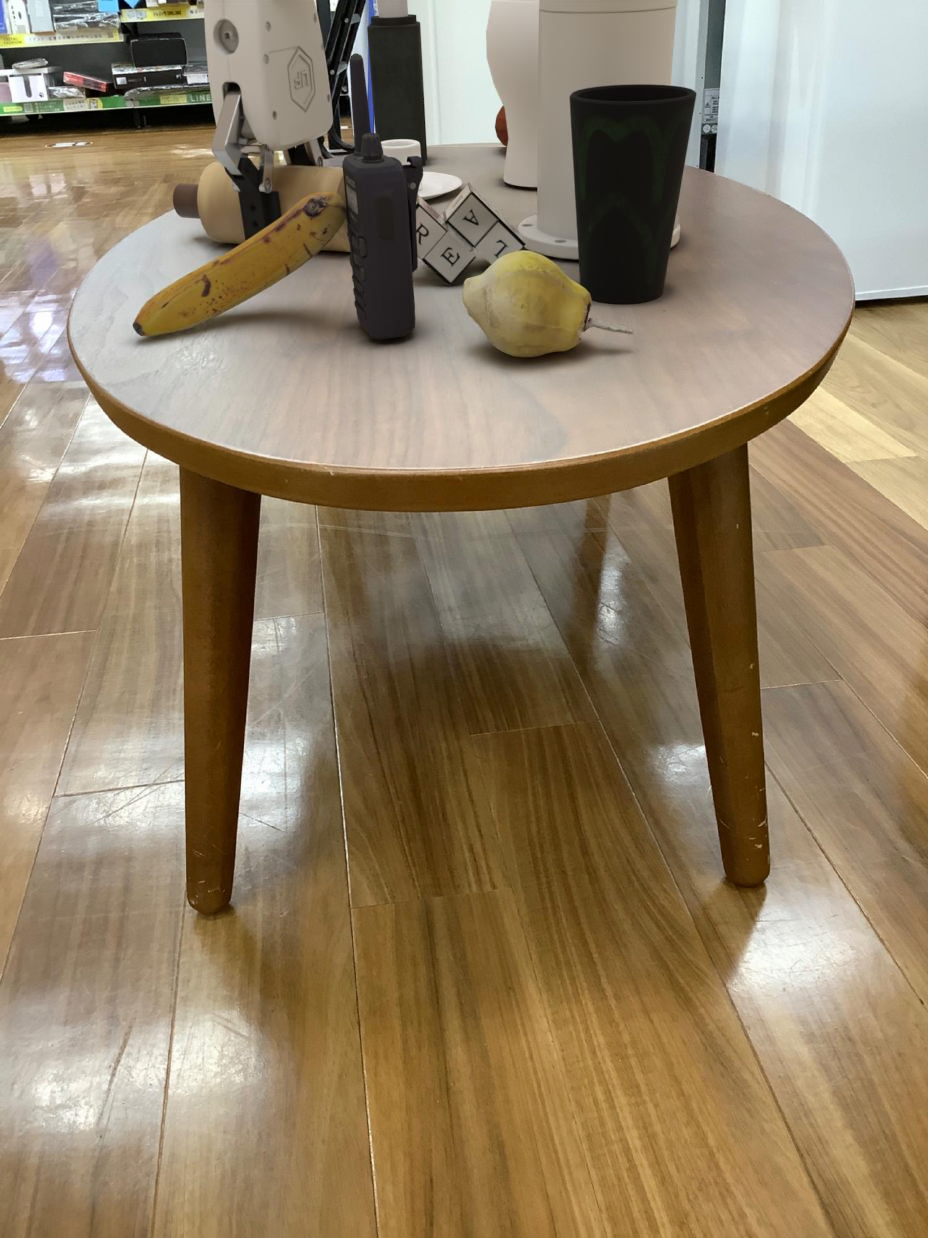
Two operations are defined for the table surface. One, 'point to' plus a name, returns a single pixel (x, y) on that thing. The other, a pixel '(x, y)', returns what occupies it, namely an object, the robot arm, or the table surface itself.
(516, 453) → the table surface
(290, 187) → the rolling pin
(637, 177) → the cup
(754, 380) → the table surface
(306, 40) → the robot arm
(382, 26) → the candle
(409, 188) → the two-way radio
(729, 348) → the table surface
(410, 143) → the candle holder
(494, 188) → the table surface
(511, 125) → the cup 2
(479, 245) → the building blocks
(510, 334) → the fruit
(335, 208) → the fruit
